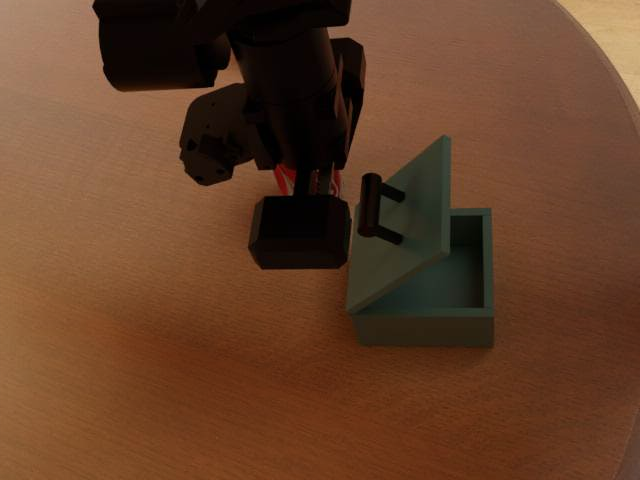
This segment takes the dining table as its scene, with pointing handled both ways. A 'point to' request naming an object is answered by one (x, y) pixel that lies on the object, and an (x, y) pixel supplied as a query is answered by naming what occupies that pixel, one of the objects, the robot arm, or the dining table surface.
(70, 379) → the dining table surface
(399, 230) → the box lid
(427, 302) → the teal box
